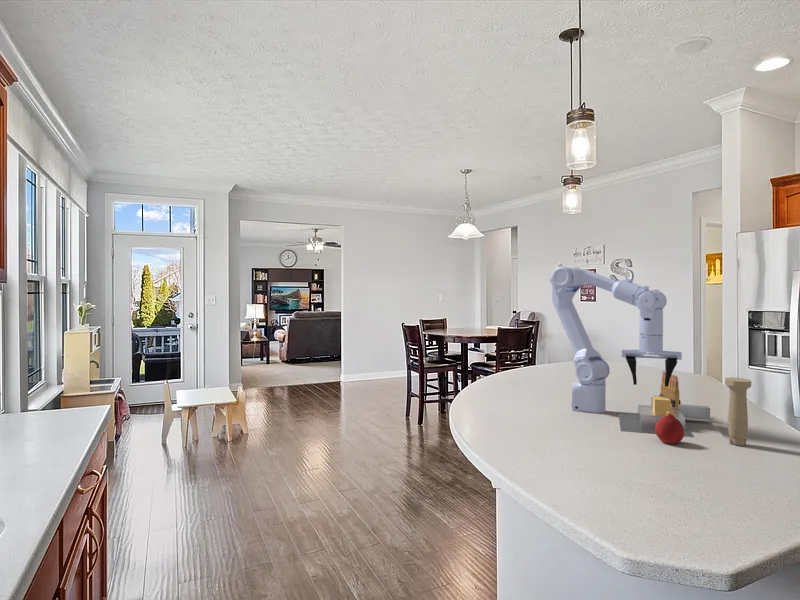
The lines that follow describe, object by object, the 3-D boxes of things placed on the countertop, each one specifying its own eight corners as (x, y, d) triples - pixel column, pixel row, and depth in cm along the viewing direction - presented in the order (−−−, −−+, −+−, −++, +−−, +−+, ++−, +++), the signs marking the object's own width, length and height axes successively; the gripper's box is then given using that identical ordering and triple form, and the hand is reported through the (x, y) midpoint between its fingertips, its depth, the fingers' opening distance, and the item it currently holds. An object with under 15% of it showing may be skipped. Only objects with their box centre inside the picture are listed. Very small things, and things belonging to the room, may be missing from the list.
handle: (745, 441, 124) (745, 378, 124) (754, 449, 118) (754, 382, 118) (722, 439, 125) (722, 377, 125) (729, 447, 119) (729, 381, 119)
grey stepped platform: (620, 435, 130) (620, 408, 130) (618, 416, 149) (618, 394, 149) (723, 444, 122) (723, 416, 122) (706, 423, 141) (707, 399, 141)
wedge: (654, 422, 134) (654, 399, 134) (652, 418, 139) (652, 395, 139) (670, 424, 132) (670, 400, 132) (667, 419, 138) (667, 396, 138)
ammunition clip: (680, 418, 147) (681, 376, 147) (674, 418, 147) (674, 375, 147) (665, 410, 158) (665, 370, 158) (659, 410, 158) (659, 370, 158)
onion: (681, 444, 121) (681, 410, 121) (686, 451, 116) (686, 415, 116) (653, 442, 123) (653, 408, 123) (657, 449, 118) (657, 413, 118)
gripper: (622, 334, 140) (621, 385, 140) (683, 336, 135) (682, 389, 135) (621, 333, 147) (621, 381, 147) (679, 334, 141) (679, 385, 142)
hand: (650, 385), depth 141 cm, fingers open, 7 cm apart
